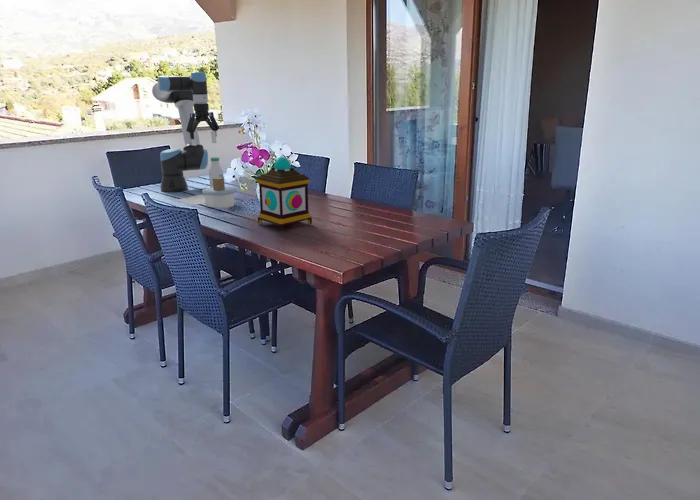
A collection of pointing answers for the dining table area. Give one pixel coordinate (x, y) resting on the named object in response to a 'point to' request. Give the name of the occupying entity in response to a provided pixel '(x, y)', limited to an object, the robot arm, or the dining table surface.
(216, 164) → the milk bottle
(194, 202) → the mat
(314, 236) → the dining table surface
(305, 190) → the decorative lantern
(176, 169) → the robot arm
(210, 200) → the bowl
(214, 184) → the lid
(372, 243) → the dining table surface
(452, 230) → the dining table surface
